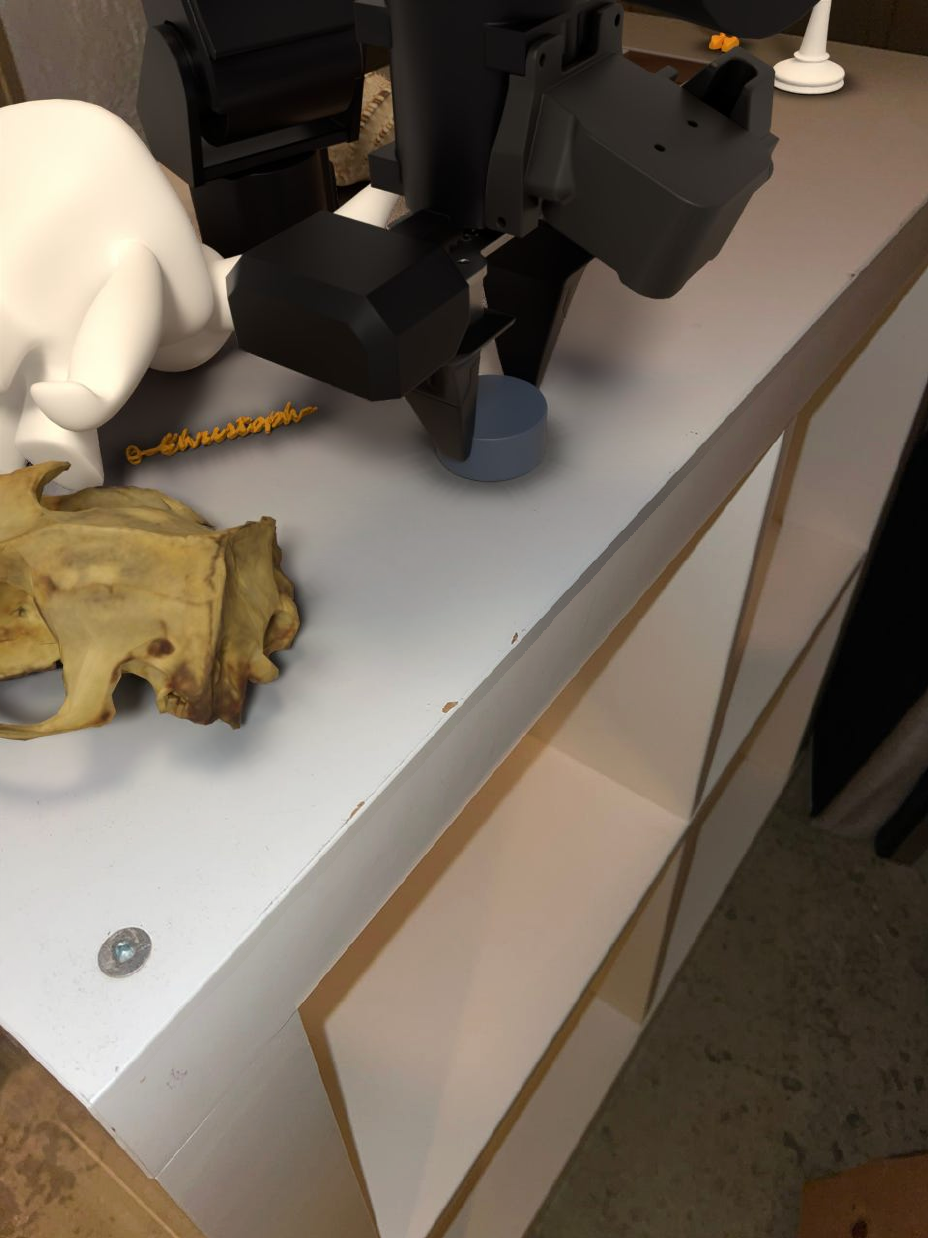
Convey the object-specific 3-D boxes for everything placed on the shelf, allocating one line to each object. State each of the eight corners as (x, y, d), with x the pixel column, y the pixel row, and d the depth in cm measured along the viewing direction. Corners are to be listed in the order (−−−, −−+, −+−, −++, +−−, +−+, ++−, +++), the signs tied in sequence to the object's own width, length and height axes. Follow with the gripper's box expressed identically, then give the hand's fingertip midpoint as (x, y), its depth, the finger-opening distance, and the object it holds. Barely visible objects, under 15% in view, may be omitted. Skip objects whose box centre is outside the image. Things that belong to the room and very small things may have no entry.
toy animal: (309, 557, 35) (436, 220, 41) (70, 308, 25) (288, -83, 31) (-50, 542, 43) (102, 267, 50) (-332, 356, 34) (-96, 44, 40)
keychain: (131, 472, 38) (123, 448, 37) (129, 463, 38) (121, 440, 38) (322, 422, 39) (317, 399, 39) (316, 415, 40) (311, 392, 40)
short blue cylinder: (506, 496, 36) (506, 453, 35) (413, 457, 38) (410, 415, 36) (566, 437, 38) (569, 395, 37) (477, 403, 40) (476, 362, 39)
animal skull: (-118, 642, 35) (-232, 490, 30) (295, 537, 36) (243, 376, 32) (-205, 876, 27) (-374, 716, 23) (328, 731, 28) (265, 553, 24)
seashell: (380, 261, 55) (450, 128, 58) (345, 183, 50) (424, 40, 52) (270, 237, 58) (341, 110, 60) (226, 160, 52) (306, 24, 55)
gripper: (561, 115, 18) (537, 664, 29) (893, -89, 28) (779, 376, 39) (149, 25, 22) (268, 530, 34) (564, -121, 32) (548, 304, 44)
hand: (490, 426), depth 37 cm, fingers closed on short blue cylinder, 4 cm apart
